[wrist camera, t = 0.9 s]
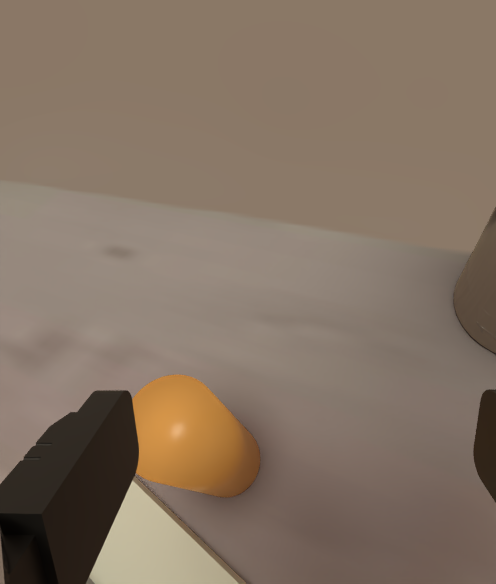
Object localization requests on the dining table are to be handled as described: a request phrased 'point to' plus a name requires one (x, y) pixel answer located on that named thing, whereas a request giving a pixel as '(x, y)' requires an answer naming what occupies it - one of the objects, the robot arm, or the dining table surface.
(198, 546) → the cream slab
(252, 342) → the dining table surface
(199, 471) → the orange cylinder
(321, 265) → the dining table surface
